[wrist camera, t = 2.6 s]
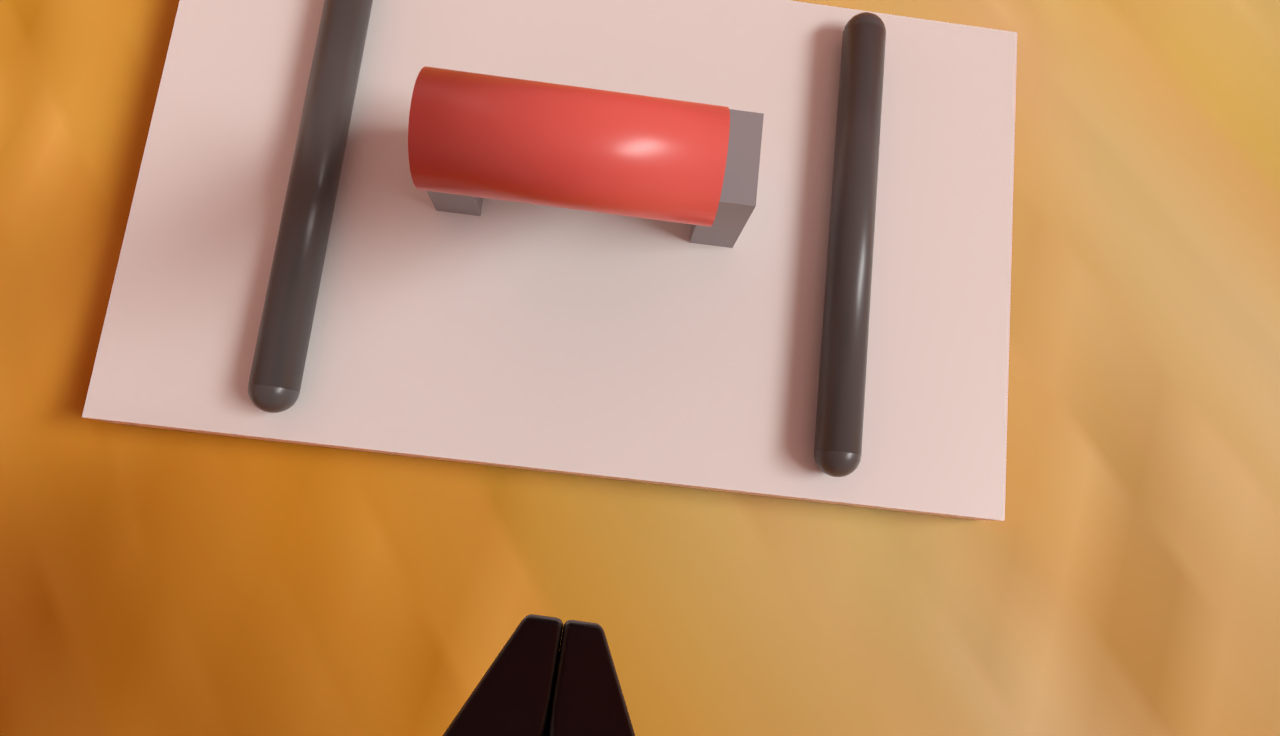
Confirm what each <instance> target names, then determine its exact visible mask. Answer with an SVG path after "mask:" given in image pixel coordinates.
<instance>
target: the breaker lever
mask: <svg viewBox="0 0 1280 736" xmlns="http://www.w3.org/2000/svg"><path fill="white" fill-rule="evenodd" d="M729 131H730V110H729V107H726V106H718V105H711V104H703V103H696V102H688V101H681V100H673V99H666V98H659V97H651V96H644V95H636V94H629V93H621V92H614V91H606V90H599V89H591V88H584V87H577V86H569V85H562V84H554V83H547V82H539V81H532V80H524V79H517V78H509V77H502V76H495V75H487V74H480V73H472V72H465V71H457V70H450V69H442V68H435V67H427V66H425V67H423V68H422V69H421V71H420V72H419V74H418V76H417V79H416V82H415V85H414V89H413V94H412V99H411V105H410V113H409V125H408V156H409V166H410V172H411V177H412V180H413V183H414V185H415V187H416V188H417V189H418V190H425V191H433V192H441V193H448V194H456V195H464V196H472V197H480V198H488V199H496V200H504V201H511V202H519V203H527V204H535V205H543V206H551V207H559V208H566V209H574V210H582V211H590V212H598V213H606V214H614V215H621V216H629V217H637V218H645V219H653V220H661V221H669V222H677V223H684V224H692V225H700V226H708V227H711V226H712V225H713V222H714V220H715V217H716V213H717V209H718V205H719V201H720V196H721V191H722V186H723V180H724V174H725V167H726V160H727V152H728V143H729Z"/></svg>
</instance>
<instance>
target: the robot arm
mask: <svg viewBox="0 0 1280 736" xmlns="http://www.w3.org/2000/svg"><path fill="white" fill-rule="evenodd" d="M562 630H563V632H562ZM561 636H562V638H561ZM560 643H561V645H560ZM559 650H560V651H559ZM443 736H635V733H634V730H633V727H632V723H631V720H630V716H629V713H628V710H627V706H626V703H625V700H624V696H623V693H622V690H621V686H620V683H619V680H618V676H617V673H616V670H615V666H614V663H613V660H612V656H611V653H610V650H609V646H608V643H607V639H606V636H605V633H604V630H603V629H602V627H601V626H600V625H599V624H596V623H590V622H583V621H576V620H568V621H566V623H565V624H564V626H563V623H562V621H561V620H560V619H558V618H555V617H548V616H540V615H533V614H530V615H528V616H526V617H525V618H524V619H523V620H522V621H521V623H520V624H519V625H518V627H517V628H516V630H515V631H514V633H513V634H512V636H511V637H510V639H509V640H508V641H507V643H506V644H505V646H504V647H503V649H502V650H501V652H500V653H499V654H498V656H497V657H496V659H495V660H494V662H493V663H492V665H491V666H490V668H489V669H488V670H487V672H486V673H485V675H484V676H483V678H482V679H481V681H480V682H479V684H478V685H477V686H476V688H475V689H474V691H473V692H472V694H471V695H470V697H469V698H468V700H467V701H466V702H465V704H464V705H463V707H462V708H461V710H460V711H459V713H458V714H457V715H456V717H455V718H454V720H453V721H452V723H451V724H450V726H449V727H448V729H447V730H446V731H445V733H444V734H443Z"/></svg>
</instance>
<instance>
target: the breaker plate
mask: <svg viewBox="0 0 1280 736" xmlns="http://www.w3.org/2000/svg"><path fill="white" fill-rule="evenodd" d="M1016 62H1017V32H1011V31H1004V30H997V29H990V28H983V27H975V26H968V25H961V24H954V23H947V22H940V21H933V20H926V19H919V18H911V17H904V16H897V15H890V14H883V13H876V12H869V11H862V10H855V9H847V8H840V7H833V6H826V5H819V4H812V3H805V2H798V1H791V0H180V1H179V5H178V9H177V14H176V18H175V22H174V26H173V31H172V35H171V39H170V43H169V48H168V52H167V56H166V60H165V65H164V69H163V73H162V77H161V82H160V86H159V90H158V95H157V99H156V103H155V107H154V112H153V116H152V120H151V124H150V129H149V133H148V137H147V141H146V146H145V150H144V154H143V158H142V163H141V167H140V171H139V176H138V180H137V184H136V188H135V193H134V197H133V201H132V205H131V210H130V214H129V218H128V222H127V227H126V231H125V235H124V239H123V244H122V248H121V252H120V256H119V261H118V265H117V269H116V274H115V278H114V282H113V286H112V291H111V295H110V299H109V303H108V308H107V312H106V316H105V320H104V325H103V329H102V333H101V337H100V342H99V346H98V350H97V354H96V359H95V363H94V367H93V372H92V376H91V380H90V384H89V389H88V393H87V397H86V401H85V406H84V410H83V414H82V417H84V418H89V419H94V420H99V421H105V422H110V423H116V424H125V425H134V426H143V427H152V428H160V429H169V430H178V431H187V432H196V433H205V434H214V435H223V436H232V437H241V438H250V439H259V440H268V441H276V442H285V443H294V444H303V445H312V446H321V447H330V448H339V449H348V450H357V451H366V452H375V453H383V454H392V455H401V456H410V457H419V458H428V459H437V460H446V461H455V462H464V463H473V464H482V465H491V466H499V467H508V468H517V469H526V470H535V471H544V472H553V473H562V474H571V475H580V476H589V477H598V478H606V479H615V480H624V481H633V482H642V483H651V484H660V485H669V486H678V487H687V488H696V489H705V490H714V491H722V492H731V493H740V494H749V495H758V496H767V497H776V498H785V499H794V500H803V501H812V502H821V503H829V504H838V505H847V506H856V507H865V508H874V509H883V510H892V511H901V512H910V513H919V514H928V515H937V516H945V517H954V518H963V519H972V520H993V521H1005V485H1006V446H1007V408H1008V369H1009V331H1010V292H1011V254H1012V215H1013V177H1014V139H1015V100H1016ZM425 66H427V67H435V68H442V69H450V70H457V71H465V72H472V73H480V74H487V75H495V76H502V77H509V78H517V79H524V80H532V81H539V82H547V83H554V84H562V85H569V86H577V87H584V88H591V89H599V90H606V91H614V92H621V93H629V94H636V95H644V96H651V97H659V98H666V99H673V100H681V101H688V102H696V103H703V104H711V105H718V106H726V107H729V110H730V131H729V143H728V152H727V160H726V167H725V174H724V180H723V186H722V191H721V196H720V201H719V205H718V209H717V213H716V217H715V220H714V222H713V225H712V226H711V227H708V226H700V225H692V224H684V223H677V222H669V221H661V220H653V219H645V218H637V217H629V216H621V215H614V214H606V213H598V212H590V211H582V210H574V209H566V208H559V207H551V206H543V205H535V204H527V203H519V202H511V201H504V200H496V199H488V198H480V197H472V196H464V195H456V194H448V193H441V192H433V191H425V190H418V189H417V188H416V187H415V185H414V183H413V180H412V177H411V172H410V166H409V156H408V125H409V113H410V105H411V99H412V94H413V89H414V85H415V82H416V79H417V76H418V74H419V72H420V71H421V69H422V68H423V67H425Z"/></svg>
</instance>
